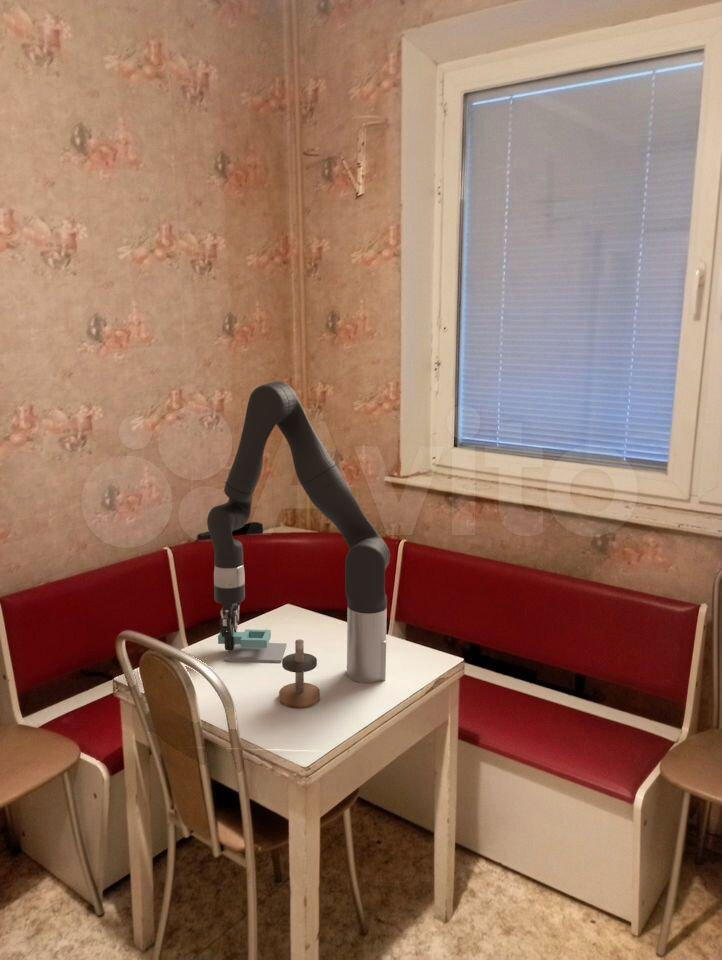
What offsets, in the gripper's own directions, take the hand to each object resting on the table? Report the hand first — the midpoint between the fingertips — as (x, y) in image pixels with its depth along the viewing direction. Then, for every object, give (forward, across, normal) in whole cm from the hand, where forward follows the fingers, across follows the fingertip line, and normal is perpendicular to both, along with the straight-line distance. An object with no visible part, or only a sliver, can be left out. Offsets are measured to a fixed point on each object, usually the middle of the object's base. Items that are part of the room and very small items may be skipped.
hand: (230, 646), depth 179 cm
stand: (+2, -22, -20) cm, 30 cm away
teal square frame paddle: (-1, 0, -3) cm, 4 cm away
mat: (+2, 0, -6) cm, 7 cm away
